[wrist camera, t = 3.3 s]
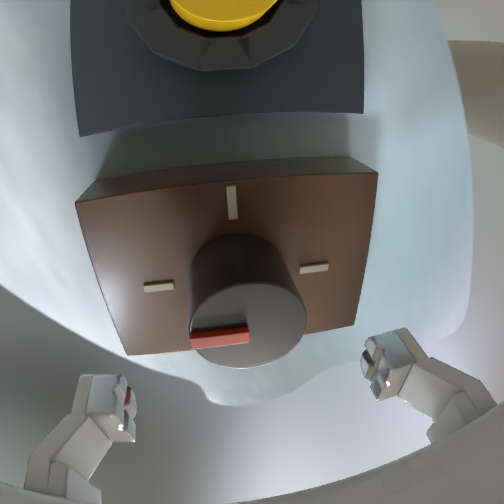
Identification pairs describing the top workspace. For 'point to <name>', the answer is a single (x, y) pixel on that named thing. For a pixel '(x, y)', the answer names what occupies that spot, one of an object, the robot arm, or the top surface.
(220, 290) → the knob
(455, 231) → the top surface
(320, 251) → the dial panel
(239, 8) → the button
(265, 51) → the button box
